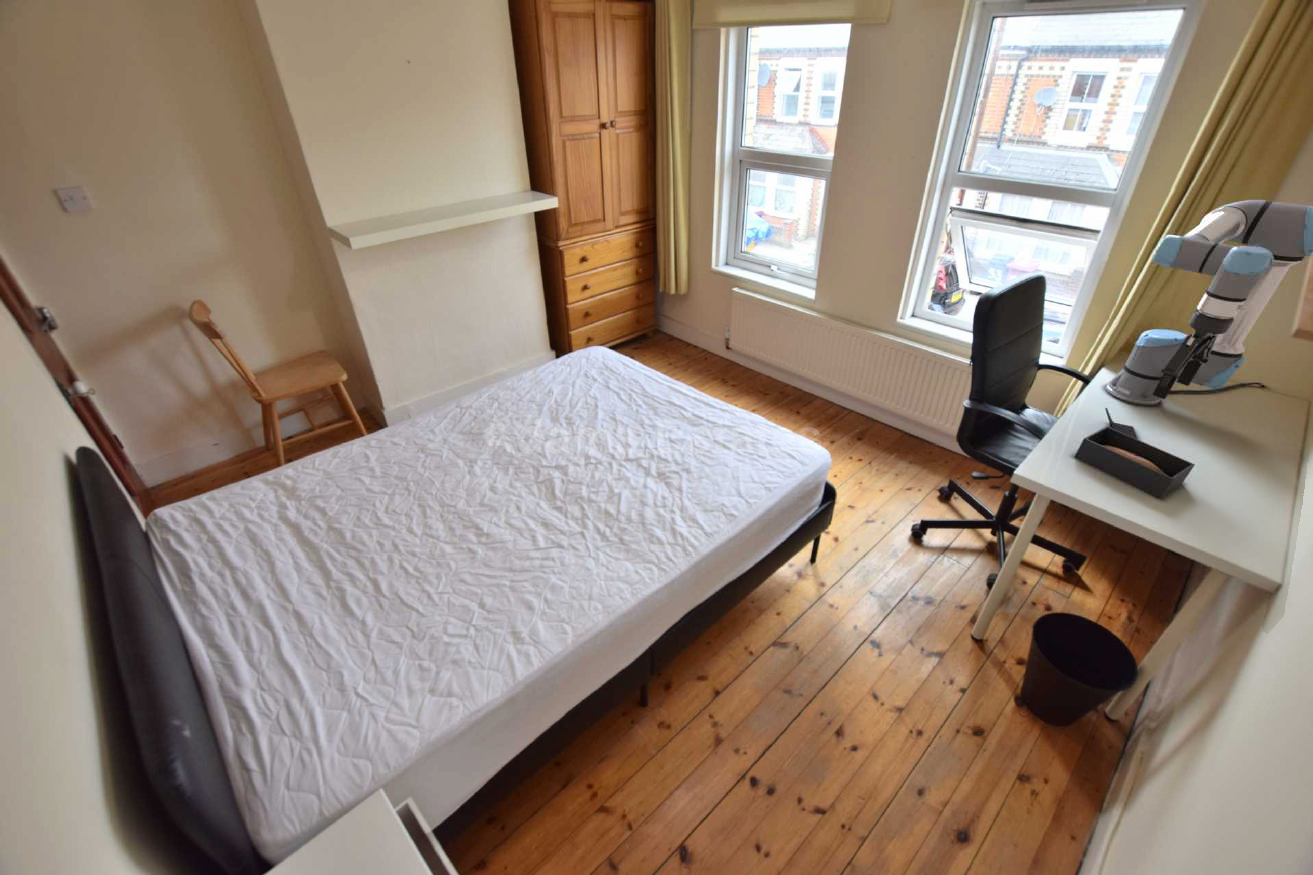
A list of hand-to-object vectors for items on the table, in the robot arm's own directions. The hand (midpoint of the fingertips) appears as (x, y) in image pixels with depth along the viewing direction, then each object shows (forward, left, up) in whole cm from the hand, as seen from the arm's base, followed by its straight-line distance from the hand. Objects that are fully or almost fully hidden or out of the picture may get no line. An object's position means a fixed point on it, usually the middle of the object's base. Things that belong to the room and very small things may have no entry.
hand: (1170, 390), depth 152 cm
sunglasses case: (+2, 0, -24) cm, 24 cm away
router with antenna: (-15, -10, -25) cm, 30 cm away
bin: (+3, +1, -24) cm, 24 cm away
